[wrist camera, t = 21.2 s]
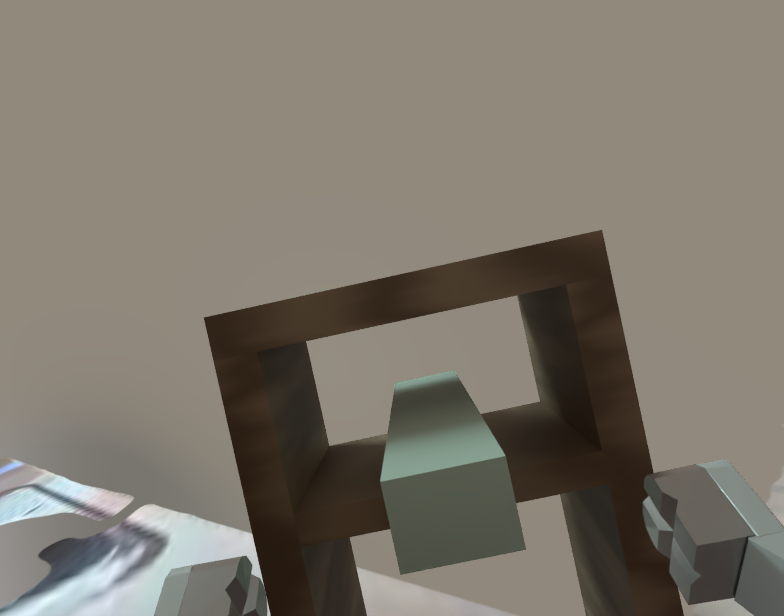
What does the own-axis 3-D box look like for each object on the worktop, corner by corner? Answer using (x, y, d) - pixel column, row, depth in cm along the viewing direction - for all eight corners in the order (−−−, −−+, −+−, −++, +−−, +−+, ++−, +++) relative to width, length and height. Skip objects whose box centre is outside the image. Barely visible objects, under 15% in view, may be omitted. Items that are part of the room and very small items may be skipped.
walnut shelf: (623, 642, 35) (539, 250, 34) (723, 803, 24) (602, 230, 23) (353, 695, 35) (268, 310, 35) (329, 875, 24) (203, 317, 24)
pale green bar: (463, 414, 36) (454, 370, 36) (526, 549, 17) (505, 455, 17) (404, 426, 36) (395, 382, 36) (400, 574, 17) (380, 481, 17)
